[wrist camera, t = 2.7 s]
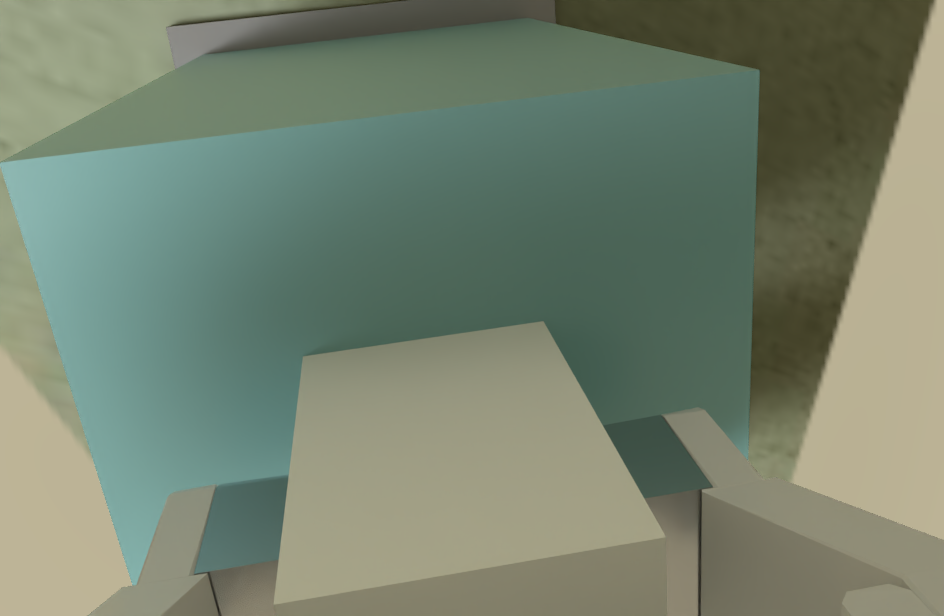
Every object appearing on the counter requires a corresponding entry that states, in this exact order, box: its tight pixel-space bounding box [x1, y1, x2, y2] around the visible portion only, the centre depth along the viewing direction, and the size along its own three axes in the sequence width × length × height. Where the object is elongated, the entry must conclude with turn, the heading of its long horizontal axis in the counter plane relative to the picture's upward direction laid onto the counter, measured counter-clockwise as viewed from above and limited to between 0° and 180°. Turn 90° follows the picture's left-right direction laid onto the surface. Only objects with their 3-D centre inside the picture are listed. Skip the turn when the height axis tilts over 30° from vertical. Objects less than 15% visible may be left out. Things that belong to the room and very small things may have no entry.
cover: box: [0, 18, 760, 616], centre depth 15 cm, size 8×8×18 cm
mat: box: [166, 0, 556, 69], centre depth 24 cm, size 10×10×1 cm
